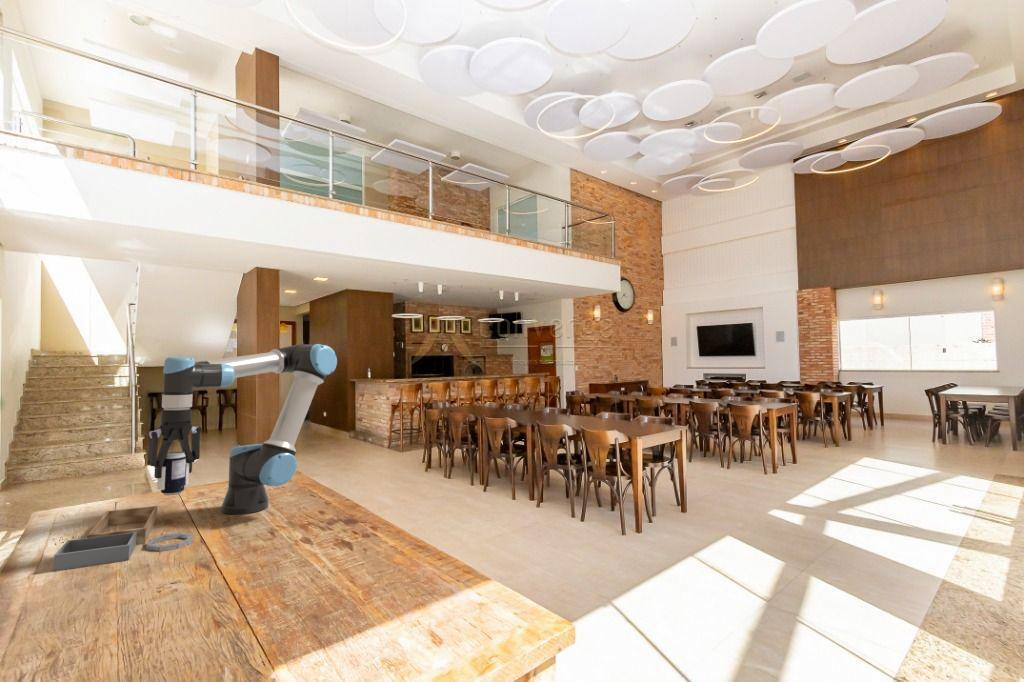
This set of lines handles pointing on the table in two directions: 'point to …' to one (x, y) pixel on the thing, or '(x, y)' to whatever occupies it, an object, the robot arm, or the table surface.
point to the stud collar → (155, 547)
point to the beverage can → (174, 473)
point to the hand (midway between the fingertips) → (172, 486)
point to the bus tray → (95, 551)
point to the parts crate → (127, 517)
